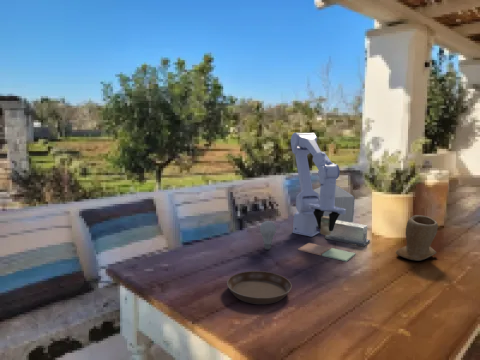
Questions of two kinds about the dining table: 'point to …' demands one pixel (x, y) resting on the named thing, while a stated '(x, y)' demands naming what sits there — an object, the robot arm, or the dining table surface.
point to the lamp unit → (349, 233)
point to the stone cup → (419, 238)
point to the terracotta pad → (314, 249)
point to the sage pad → (338, 254)
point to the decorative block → (342, 204)
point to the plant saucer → (259, 287)
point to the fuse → (325, 225)
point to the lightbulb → (267, 233)
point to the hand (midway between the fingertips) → (325, 229)
